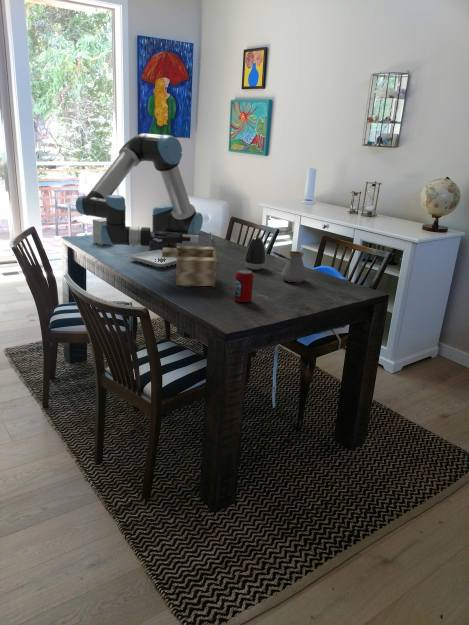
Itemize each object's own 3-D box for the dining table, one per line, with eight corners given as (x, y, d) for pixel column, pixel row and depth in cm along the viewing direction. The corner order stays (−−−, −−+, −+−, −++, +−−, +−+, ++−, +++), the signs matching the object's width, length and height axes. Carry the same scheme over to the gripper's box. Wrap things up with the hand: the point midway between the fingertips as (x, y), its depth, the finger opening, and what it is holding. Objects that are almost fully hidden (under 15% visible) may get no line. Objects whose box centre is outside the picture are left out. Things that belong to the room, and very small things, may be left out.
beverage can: (233, 297, 197) (235, 268, 193) (250, 298, 198) (252, 269, 194) (234, 303, 191) (236, 273, 187) (252, 304, 191) (254, 274, 187)
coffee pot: (292, 275, 233) (295, 244, 228) (311, 282, 225) (315, 249, 220) (259, 282, 219) (262, 249, 214) (278, 289, 211) (282, 255, 206)
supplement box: (112, 243, 268) (112, 220, 264) (101, 245, 263) (100, 221, 258) (104, 241, 273) (104, 217, 268) (92, 242, 267) (92, 219, 263)
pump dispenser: (268, 267, 243) (271, 237, 238) (260, 272, 234) (263, 240, 229) (249, 264, 247) (251, 233, 242) (240, 268, 238) (243, 237, 233)
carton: (161, 289, 201) (161, 258, 196) (162, 272, 223) (163, 244, 219) (215, 291, 204) (217, 260, 199) (211, 274, 226) (213, 247, 222)
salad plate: (159, 255, 254) (159, 248, 253) (191, 263, 243) (191, 256, 241) (127, 262, 237) (127, 255, 236) (160, 271, 226) (161, 264, 225)
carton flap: (211, 239, 201) (212, 238, 201) (209, 232, 214) (210, 232, 214) (216, 258, 204) (218, 257, 204) (214, 250, 217) (215, 250, 217)
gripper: (141, 241, 212) (197, 244, 215) (139, 249, 200) (198, 251, 203) (141, 224, 209) (198, 226, 212) (139, 230, 197) (199, 233, 200)
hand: (198, 239), depth 207 cm, fingers closed
